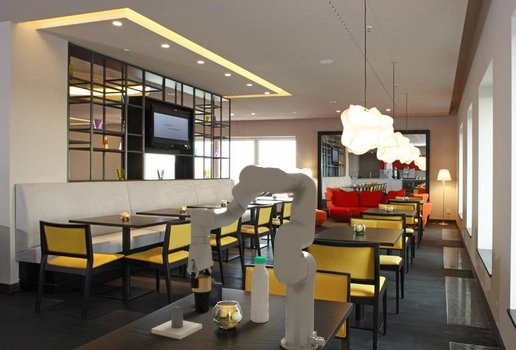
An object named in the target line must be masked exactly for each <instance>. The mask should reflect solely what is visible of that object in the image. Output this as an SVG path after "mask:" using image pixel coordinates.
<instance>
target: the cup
mask: <svg viewBox="0 0 516 350" xmlns="http://www.w3.org/2000/svg"><path fill="white" fill-rule="evenodd" d="M210 293H211V290H210V291H207V292H194V291H193V298H194V309H195V312H196V313H198V314H204V313H207V312H209V310H210V304H211V303H210Z"/></svg>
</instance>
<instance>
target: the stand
mask: <svg viewBox="0 0 516 350" xmlns="http://www.w3.org/2000/svg"><path fill="white" fill-rule="evenodd" d="M201 329H203V324H202V323H198V322H197V323H196V322H193V321H188V320H184V306H182V305H174V306H172V307H171V319H170V320H168V321H166V322H164V323H162V324H160V325H157V326H155V327H153V328H151V334H156V335H159V336H164V337H168V338H172V339H177V340H182V339H184V338H186V337H189V336H191V335H192V334H193V333H196V332H197V331H199V330H201Z"/></svg>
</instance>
